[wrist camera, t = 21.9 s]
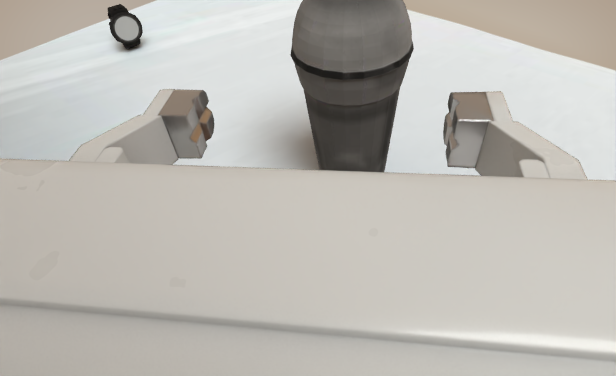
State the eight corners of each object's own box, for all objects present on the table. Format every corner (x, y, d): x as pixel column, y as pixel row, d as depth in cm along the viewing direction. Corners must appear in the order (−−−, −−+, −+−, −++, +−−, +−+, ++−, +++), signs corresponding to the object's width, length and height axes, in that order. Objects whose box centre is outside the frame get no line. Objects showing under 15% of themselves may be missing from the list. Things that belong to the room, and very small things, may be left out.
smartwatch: (115, 56, 52) (97, 17, 48) (119, 39, 55) (103, 0, 52) (148, 51, 52) (133, 11, 49) (150, 33, 56) (137, -5, 52)
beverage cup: (354, 234, 29) (354, -107, 15) (287, 185, 33) (237, -121, 19) (417, 181, 32) (467, -143, 18) (349, 142, 36) (346, -148, 22)
